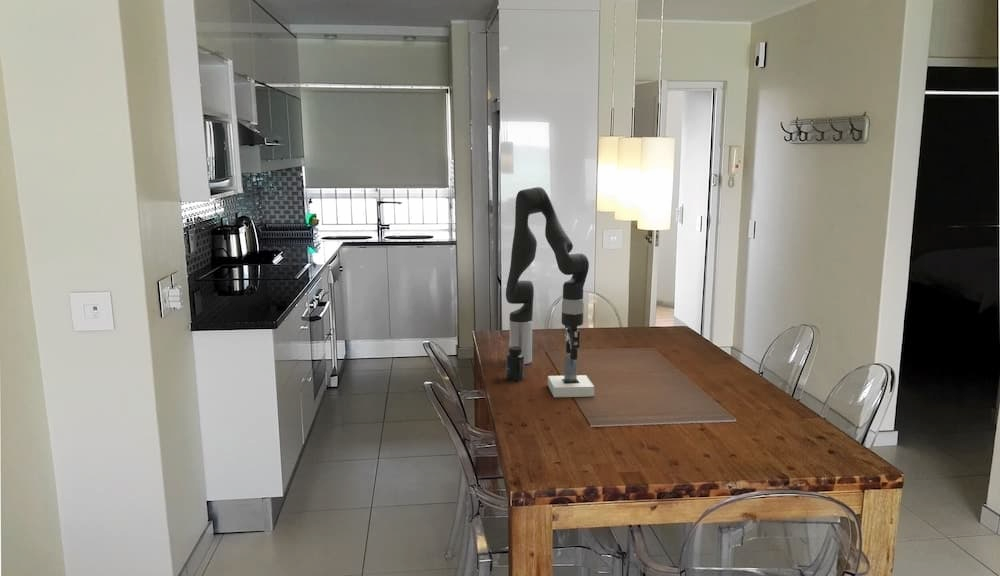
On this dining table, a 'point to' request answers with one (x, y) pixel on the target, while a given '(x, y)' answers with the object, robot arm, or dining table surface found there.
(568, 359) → the graphite peg
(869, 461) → the dining table surface
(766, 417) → the dining table surface
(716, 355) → the dining table surface
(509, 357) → the supplement bottle
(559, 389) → the socket block
